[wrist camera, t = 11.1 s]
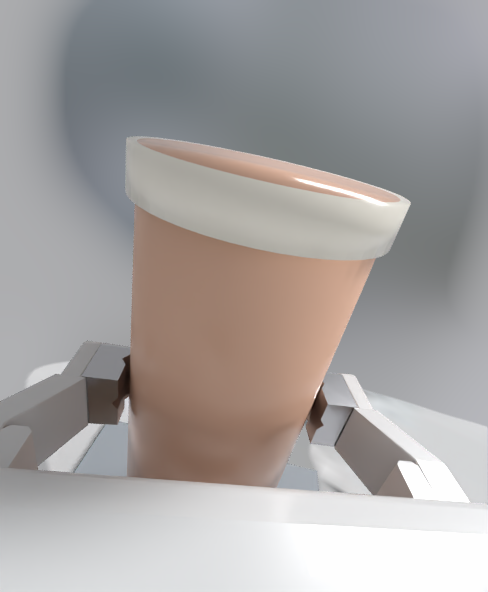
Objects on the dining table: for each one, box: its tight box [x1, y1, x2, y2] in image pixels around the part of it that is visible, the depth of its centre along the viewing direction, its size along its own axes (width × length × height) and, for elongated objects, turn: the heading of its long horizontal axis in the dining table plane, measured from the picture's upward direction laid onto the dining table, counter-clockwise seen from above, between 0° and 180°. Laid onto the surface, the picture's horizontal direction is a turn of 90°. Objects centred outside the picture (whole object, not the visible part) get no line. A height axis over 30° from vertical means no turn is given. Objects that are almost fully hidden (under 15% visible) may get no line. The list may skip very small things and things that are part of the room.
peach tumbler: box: [125, 136, 411, 488], centre depth 12 cm, size 9×6×16 cm
